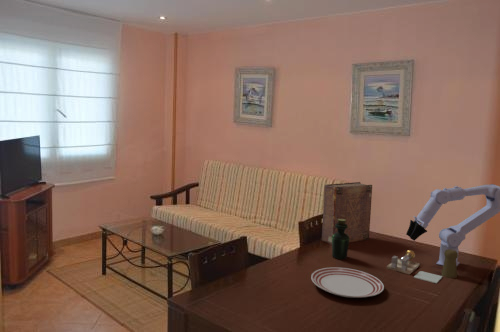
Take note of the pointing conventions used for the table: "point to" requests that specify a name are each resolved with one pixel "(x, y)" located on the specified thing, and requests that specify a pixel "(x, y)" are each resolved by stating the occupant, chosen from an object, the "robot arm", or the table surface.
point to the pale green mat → (428, 277)
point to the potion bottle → (340, 241)
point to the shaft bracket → (402, 265)
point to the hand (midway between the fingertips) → (410, 237)
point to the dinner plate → (347, 282)
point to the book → (347, 210)
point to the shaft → (408, 255)
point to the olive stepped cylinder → (450, 264)
